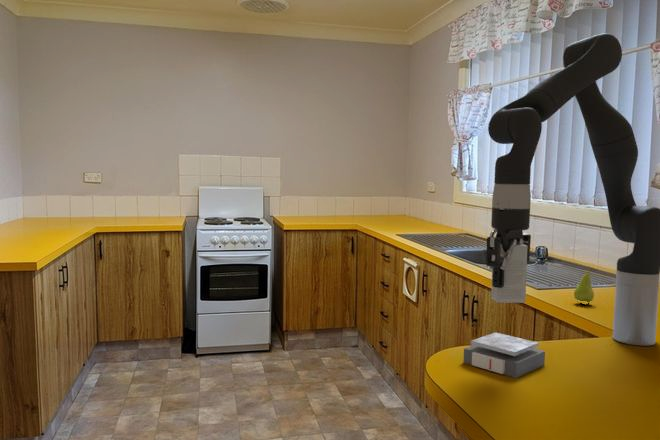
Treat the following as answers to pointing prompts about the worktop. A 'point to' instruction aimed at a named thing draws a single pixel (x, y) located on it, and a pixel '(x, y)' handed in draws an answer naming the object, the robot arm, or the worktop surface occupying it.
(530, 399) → the worktop surface
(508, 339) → the pan
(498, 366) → the scale base
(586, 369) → the worktop surface
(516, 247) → the skincare box
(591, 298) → the fruit
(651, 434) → the worktop surface
